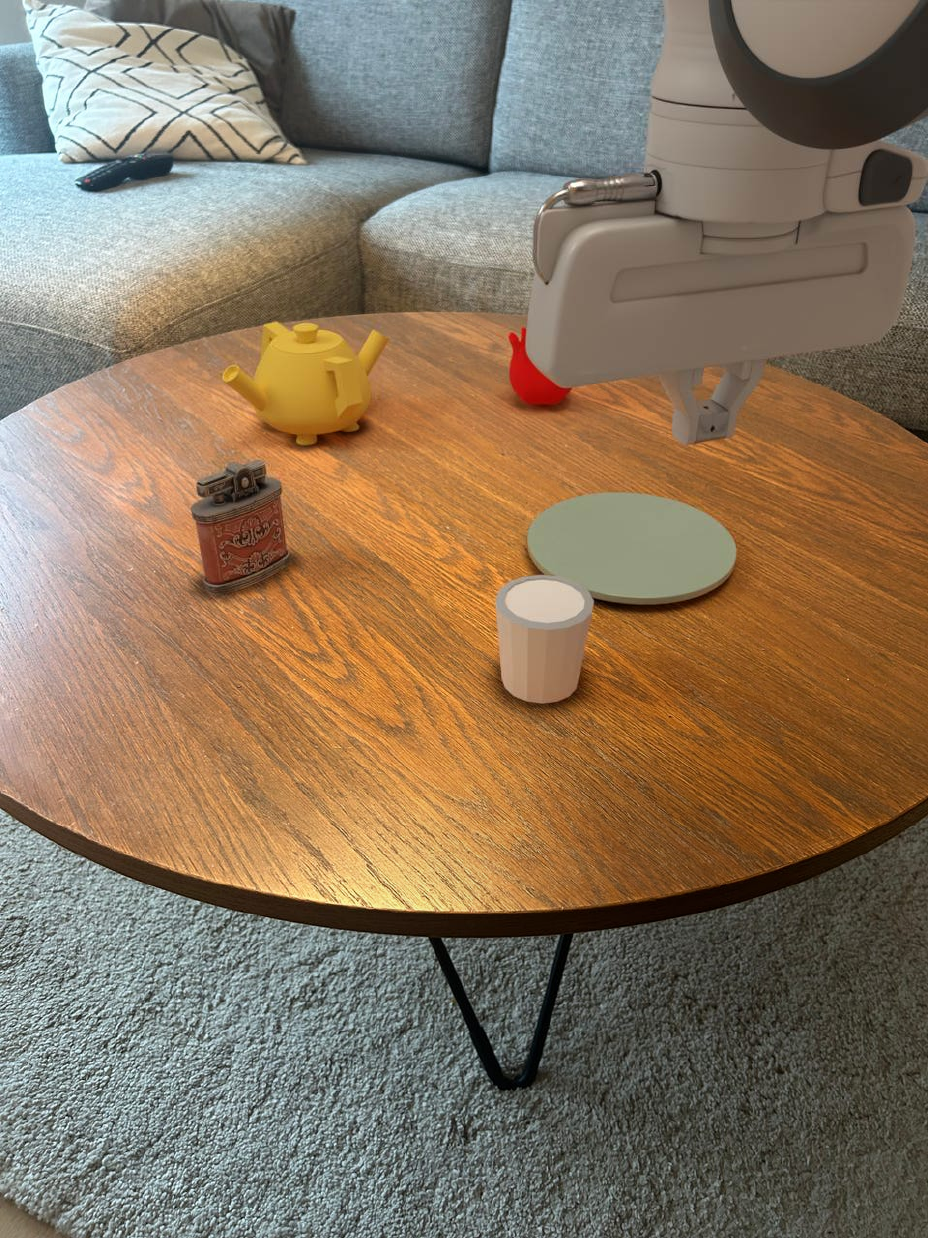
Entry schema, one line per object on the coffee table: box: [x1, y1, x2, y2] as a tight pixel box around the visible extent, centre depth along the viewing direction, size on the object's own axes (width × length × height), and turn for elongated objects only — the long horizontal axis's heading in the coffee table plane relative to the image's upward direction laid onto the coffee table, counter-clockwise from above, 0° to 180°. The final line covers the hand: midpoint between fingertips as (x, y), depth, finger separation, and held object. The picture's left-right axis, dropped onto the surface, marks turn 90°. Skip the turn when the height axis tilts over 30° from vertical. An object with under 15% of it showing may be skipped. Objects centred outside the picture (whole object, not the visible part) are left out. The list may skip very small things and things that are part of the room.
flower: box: [508, 326, 573, 406], centre depth 114 cm, size 8×8×8 cm
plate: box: [526, 491, 738, 606], centre depth 88 cm, size 18×18×2 cm
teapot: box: [221, 320, 390, 446], centre depth 107 cm, size 20×18×11 cm
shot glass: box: [494, 574, 595, 704], centre depth 72 cm, size 7×7×7 cm
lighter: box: [190, 459, 291, 596], centre depth 83 cm, size 8×3×10 cm, turn 135°
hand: (701, 438), depth 55 cm, fingers closed
